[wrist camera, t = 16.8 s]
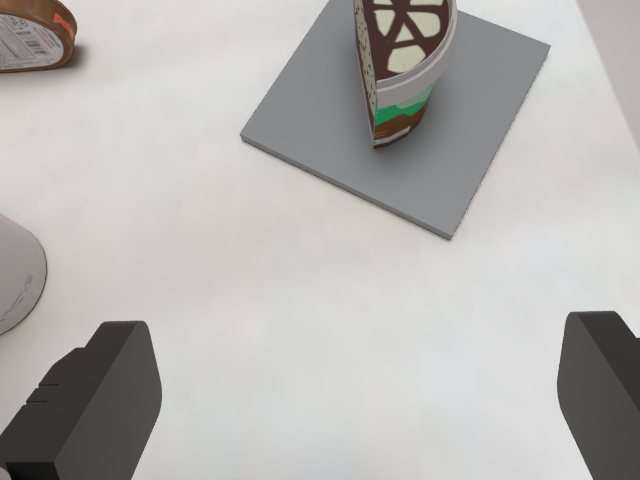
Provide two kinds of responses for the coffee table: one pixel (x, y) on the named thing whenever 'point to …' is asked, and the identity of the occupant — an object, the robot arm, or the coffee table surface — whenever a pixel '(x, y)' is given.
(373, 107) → the food container
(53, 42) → the tin
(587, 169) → the coffee table surface
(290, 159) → the slate board
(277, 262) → the coffee table surface
